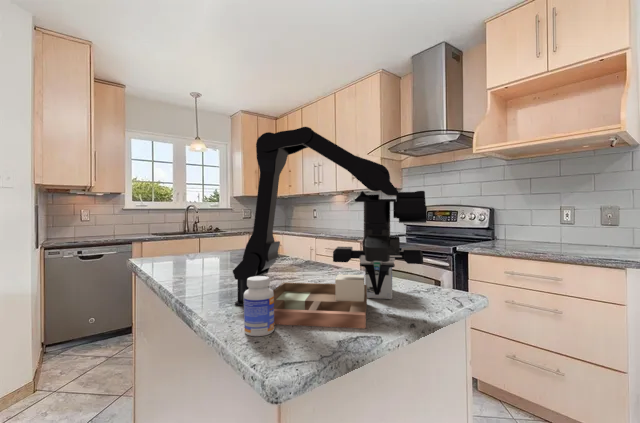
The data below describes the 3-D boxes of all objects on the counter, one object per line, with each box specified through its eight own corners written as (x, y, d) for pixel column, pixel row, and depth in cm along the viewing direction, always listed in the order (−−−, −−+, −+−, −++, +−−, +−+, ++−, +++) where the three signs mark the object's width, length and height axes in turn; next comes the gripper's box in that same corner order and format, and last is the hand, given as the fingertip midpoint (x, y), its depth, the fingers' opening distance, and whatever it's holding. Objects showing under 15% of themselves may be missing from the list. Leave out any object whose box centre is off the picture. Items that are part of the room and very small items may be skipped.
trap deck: (261, 323, 64) (261, 300, 64) (283, 301, 80) (282, 282, 80) (365, 328, 61) (365, 304, 61) (366, 303, 77) (366, 284, 77)
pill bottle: (276, 335, 58) (275, 279, 58) (245, 338, 57) (244, 282, 57) (271, 324, 64) (271, 274, 64) (243, 328, 62) (242, 276, 62)
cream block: (335, 300, 71) (335, 279, 71) (338, 294, 76) (337, 274, 76) (363, 301, 70) (363, 280, 70) (364, 294, 76) (364, 275, 75)
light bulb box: (392, 299, 80) (392, 255, 80) (364, 298, 82) (364, 255, 82) (392, 289, 91) (391, 250, 91) (367, 288, 92) (366, 249, 92)
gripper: (329, 224, 66) (329, 303, 66) (427, 224, 63) (427, 307, 63) (335, 222, 77) (336, 289, 77) (419, 222, 74) (419, 292, 74)
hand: (377, 294), depth 72 cm, fingers closed
